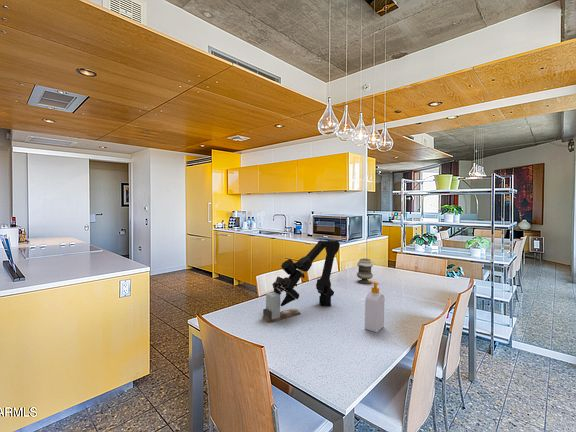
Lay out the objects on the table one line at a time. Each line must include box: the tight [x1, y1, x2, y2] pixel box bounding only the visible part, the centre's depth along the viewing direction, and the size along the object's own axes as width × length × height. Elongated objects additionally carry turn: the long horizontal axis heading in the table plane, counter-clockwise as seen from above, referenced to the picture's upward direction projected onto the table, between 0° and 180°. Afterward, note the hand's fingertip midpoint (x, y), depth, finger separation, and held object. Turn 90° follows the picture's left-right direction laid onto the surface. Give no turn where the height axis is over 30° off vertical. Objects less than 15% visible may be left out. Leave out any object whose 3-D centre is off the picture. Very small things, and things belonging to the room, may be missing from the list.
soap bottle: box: [364, 280, 385, 333], centre depth 142 cm, size 9×7×23 cm
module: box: [265, 291, 281, 320], centre depth 151 cm, size 5×6×12 cm
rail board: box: [262, 307, 302, 323], centre depth 155 cm, size 20×7×5 cm, turn 126°
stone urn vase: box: [356, 257, 374, 285], centre depth 222 cm, size 12×12×18 cm
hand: (276, 303), depth 152 cm, fingers open, 9 cm apart
